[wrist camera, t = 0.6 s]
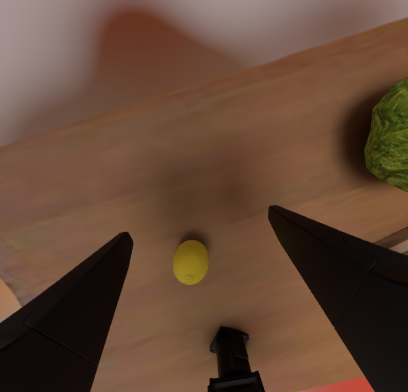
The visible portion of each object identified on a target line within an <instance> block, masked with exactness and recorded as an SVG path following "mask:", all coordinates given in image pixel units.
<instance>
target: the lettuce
mask: <svg viewBox="0 0 408 392" xmlns="http://www.w3.org/2000/svg"><path fill="white" fill-rule="evenodd" d="M364 153H365V161H366V168H367V170H369V171H370V172H371V173H373V174H374V175H375V176H377V177H378V178H379V179H381V180H382V181H383V182H386V183H388V184H390V185H393V186H395V187H397V188H399V189H402V190H404V191H406V192H408V77H407V78H405V79H403V80H401V81H399V82H397V83H395V84H394V85H393V87H392V88H391V89H390V90H389V91H388V92H387V93H386V94H385V96H384V97H383V98H382V99H381V100H380V101H379V102H378V103H377V105H376V106H375V107H374V108H373V110H372V121H371V130H370V133H369V137H368V140H367V143H366V146H365V149H364Z"/></svg>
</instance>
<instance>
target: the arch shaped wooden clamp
mask: <svg viewBox="0 0 408 392" xmlns="http://www.w3.org/2000/svg"><path fill="white" fill-rule="evenodd" d="M374 244H376V245H379V246H382V247H385V248H388V249H391V250H393V251H396V252H399V253H402V254H405V255H408V227H407V228H405V229H403V230H401V231H399V232H397V233H395V234H393V235H390V236H388V237H386V238H384V239H382V240H380V241H378V242H376V243H374Z"/></svg>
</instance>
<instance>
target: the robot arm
mask: <svg viewBox="0 0 408 392" xmlns="http://www.w3.org/2000/svg"><path fill="white" fill-rule="evenodd" d="M268 219H269V222H270V224H271V226H272V228H273V230H274V232H275V234H276V236H277V238H278V240H279V242H280V243H281V245H282V247H283V248H284V250H285V251H286V253H287V254H288V256H289V258H290V259H291V261H292V262H293V264H294V265H295V267H296V269H297V270H298V272H299V273H300V275H301V276H302V278H303V280H304V281H305V283H306V284H307V286H308V287H309V289H310V290H311V292H312V294H313V295H314V297H315V298H316V300H317V301H318V303H319V305H320V306H321V308H322V309H323V311H324V312H325V314H326V316H327V317H328V319H329V320H330V322H331V323H332V325H333V326H334V328H335V330H336V332H337V333H338V335H339V336H340V338H341V339H342V341H343V343H344V344H345V346H346V347H347V349H348V350H349V352H350V354H351V355H352V357H353V358H354V360H355V361H356V363H357V365H358V366H359V368H360V369H361V371H362V372H363V374H364V376H365V377H366V379H367V380H368V382H369V383H370V385H371V386H372V388H373V389H374V391H375V392H408V255H405V254H402V253H399V252H396V251H393V250H391V249H388V248H385V247H382V246H379V245H376V244H373V243H371V242H368V241H365V240H362V239H360V238H357V237H355V236H352V235H349V234H347V233H345V232H342V231H339V230H337V229H335V228H332V227H330V226H327V225H325V224H322V223H320V222H317V221H315V220H312V219H310V218H307V217H305V216H302V215H300V214H297V213H295V212H292V211H290V210H287V209H285V208H282V207H280V206H277V205H273V206H269V210H268ZM132 249H133V240H132V238H131V236H130V235H129V233H128V232H122V233H119V234H118V235H117V236H115V237H114V238H113V239H112V240H110V241H109V242H108V243H106V244H105V245H104V246H102V247H101V248H100V249H99V250H97V251H96V252H95V253H93V254H92V255H91V256H89V257H88V258H87V259H86V260H84V261H83V262H82V263H80V264H79V265H78V266H76V267H75V268H74V269H73V270H71V271H70V272H69V273H67V274H66V275H65V276H63V277H62V278H61V279H60V280H58V281H57V282H56V283H54V284H53V285H52V286H50V287H49V288H48V289H46V290H45V291H44V292H42V293H41V294H40V295H38V296H37V297H36V298H34V299H33V300H32V301H30V302H29V303H27V304H26V305H25V306H23V307H22V308H21V309H19V310H18V311H16V312H15V313H14V314H12V315H11V316H9V317H8V318H6V319H5V320H4V321H2V322H1V323H0V392H90V390H91V387H92V384H93V381H94V378H95V374H96V371H97V368H98V364H99V361H100V358H101V355H102V352H103V348H104V345H105V342H106V339H107V336H108V332H109V329H110V326H111V323H112V319H113V316H114V313H115V310H116V307H117V303H118V300H119V297H120V294H121V291H122V287H123V284H124V281H125V278H126V275H127V271H128V268H129V264H130V259H131V254H132ZM248 340H249V335H248V334H245V333H242V332H238V331H235V330H231V329H228V328H225V327H220V329H219V331H218V333H217V335H216V337H215V339H214V341H213V343H212V345H211V346H210V352H212V353H216V354H217V366H218V377H219V378H214V379H213V378H210V385H209V386H208V392H265V390H264V387H263V384H262V381H261V378H260V374H259V371H255V372H251V369H250V365H249V361H248V354H247V350H246V346H245V345H246V343H247V341H248Z"/></svg>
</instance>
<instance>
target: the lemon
mask: <svg viewBox="0 0 408 392" xmlns="http://www.w3.org/2000/svg"><path fill="white" fill-rule="evenodd" d="M208 266H209V256H208V252H207V250H206V248H205V246H204V245H203V244H202V243H200V242H199V241H196V240H188V241H185V242H183V243H182V244H181V245H180V246H179V247H178V248H177V250H176V251H175V253H174V257H173V271H174V274H175V276H176V278H177V279H178V280H179V281H180V282H182V283H184V284H187V285H192V284H196V283H198V282H200V281H201V280H202V279H203V278H204V277H205V275H206V273H207V270H208Z"/></svg>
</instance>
